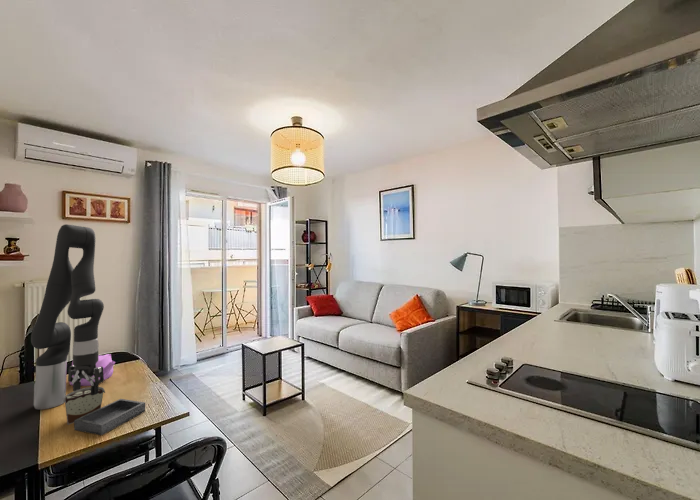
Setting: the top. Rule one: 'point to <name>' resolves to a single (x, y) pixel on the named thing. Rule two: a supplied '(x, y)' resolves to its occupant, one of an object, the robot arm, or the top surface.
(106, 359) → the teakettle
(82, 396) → the grey speckled half-round piece
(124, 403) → the grey metal tray
